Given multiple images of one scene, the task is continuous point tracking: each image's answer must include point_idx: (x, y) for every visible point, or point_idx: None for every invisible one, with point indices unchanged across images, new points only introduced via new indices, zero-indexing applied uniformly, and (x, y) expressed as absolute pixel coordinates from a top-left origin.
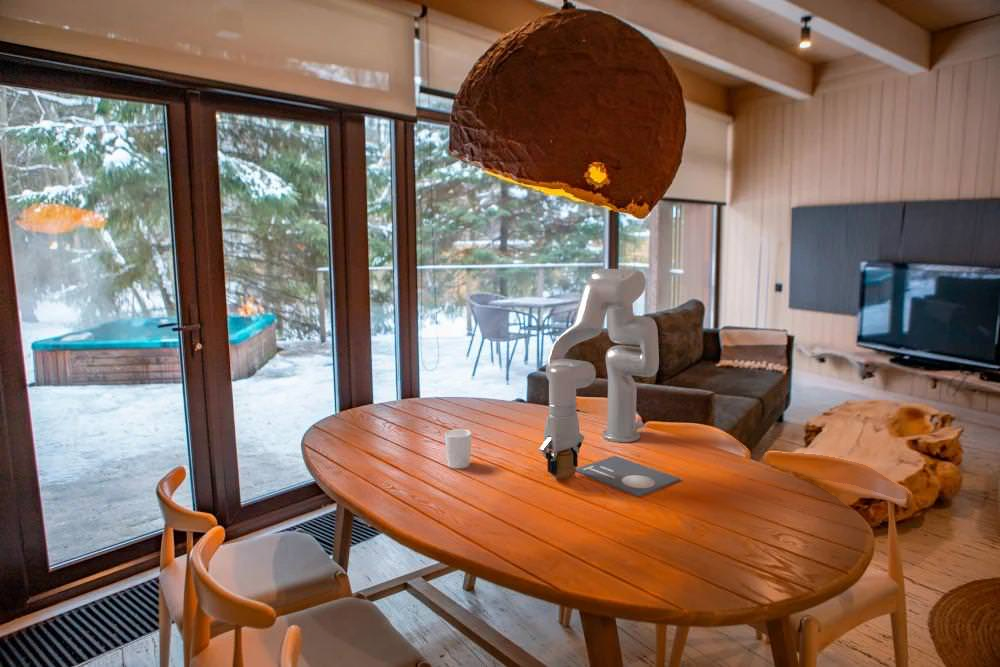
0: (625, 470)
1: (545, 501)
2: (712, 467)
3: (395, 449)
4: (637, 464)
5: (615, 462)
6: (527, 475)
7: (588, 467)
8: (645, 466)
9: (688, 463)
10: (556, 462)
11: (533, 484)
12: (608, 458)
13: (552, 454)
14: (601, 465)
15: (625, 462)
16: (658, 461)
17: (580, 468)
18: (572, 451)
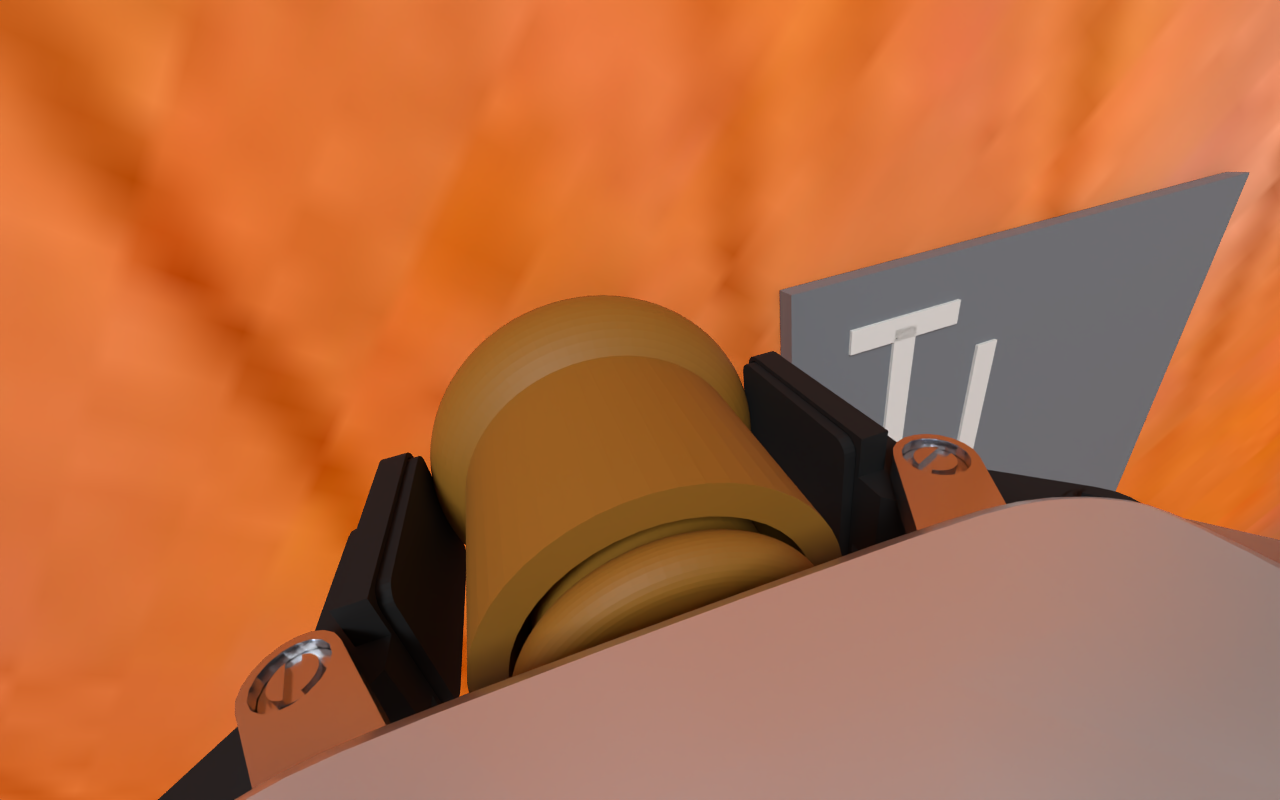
0: (1018, 467)
1: (200, 754)
2: (1239, 521)
3: None
4: (1141, 406)
5: (1115, 313)
6: (152, 109)
7: (910, 323)
8: (1131, 449)
9: (1257, 454)
10: (446, 701)
11: (173, 436)
12: (1172, 204)
13: (487, 565)
14: (1011, 322)
15: (1143, 345)
16: (1242, 377)
17: (851, 302)
18: (870, 532)
